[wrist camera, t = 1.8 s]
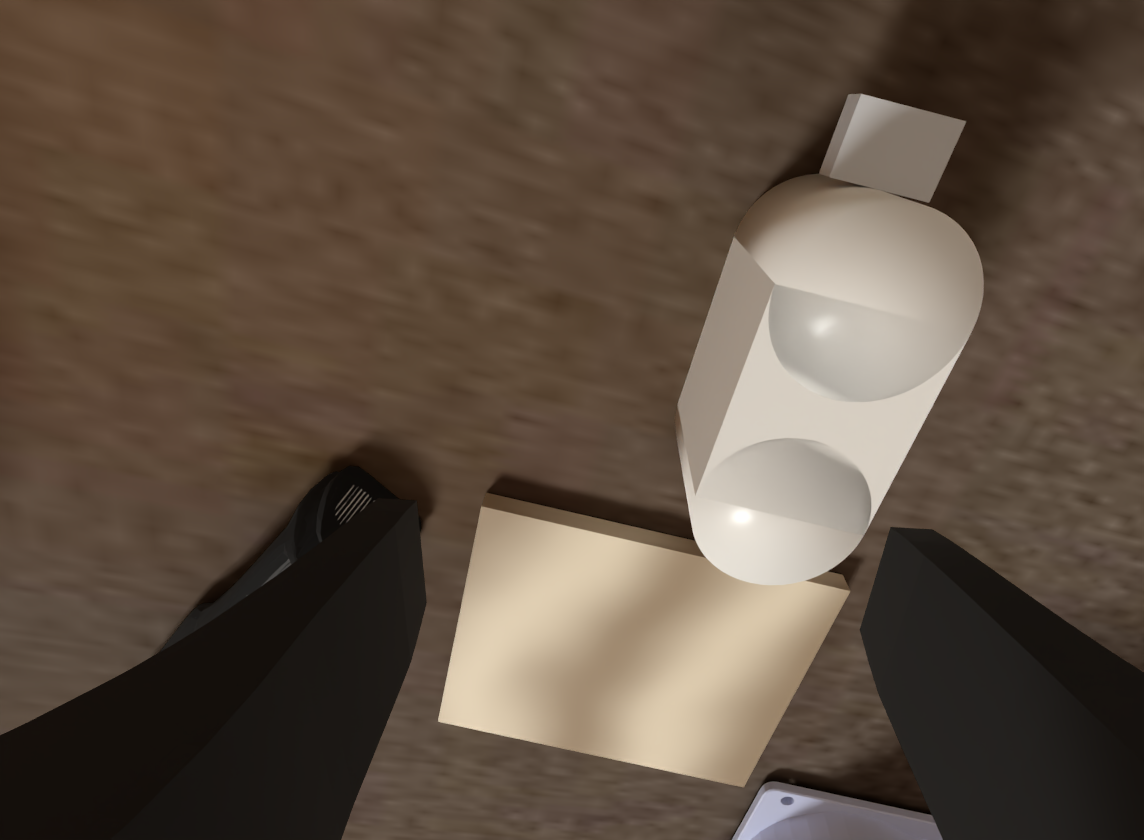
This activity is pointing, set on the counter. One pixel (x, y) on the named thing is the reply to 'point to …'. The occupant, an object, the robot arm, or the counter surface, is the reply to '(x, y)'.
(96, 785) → the robot arm
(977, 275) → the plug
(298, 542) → the electric trimmer
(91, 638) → the counter surface
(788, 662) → the cutting board
